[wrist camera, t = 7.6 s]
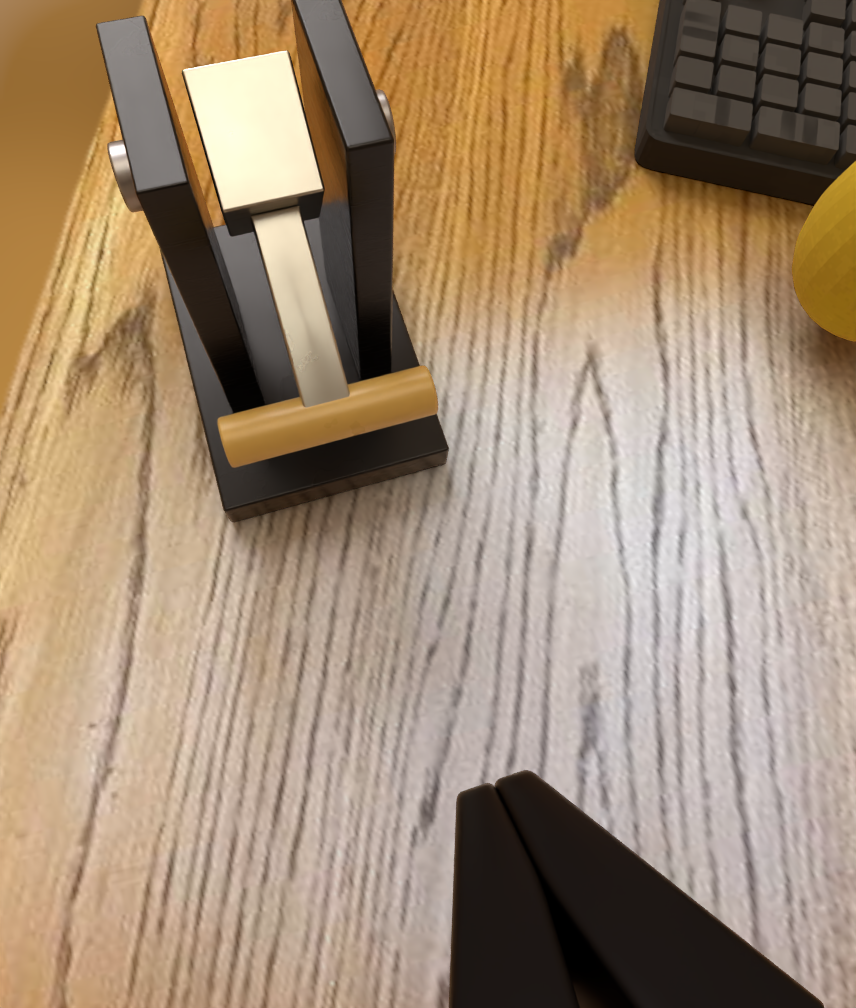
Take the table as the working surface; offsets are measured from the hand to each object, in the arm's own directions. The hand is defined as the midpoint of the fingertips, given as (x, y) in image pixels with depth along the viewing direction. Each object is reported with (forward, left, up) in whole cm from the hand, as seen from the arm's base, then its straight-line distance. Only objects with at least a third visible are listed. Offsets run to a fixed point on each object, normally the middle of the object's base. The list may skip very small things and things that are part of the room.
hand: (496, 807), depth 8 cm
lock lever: (+12, -3, -7) cm, 14 cm away
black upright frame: (+13, -4, -13) cm, 19 cm away
